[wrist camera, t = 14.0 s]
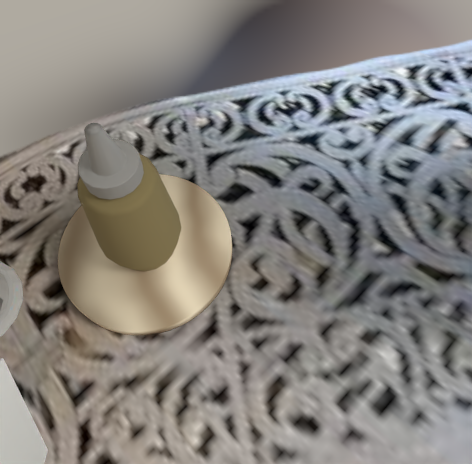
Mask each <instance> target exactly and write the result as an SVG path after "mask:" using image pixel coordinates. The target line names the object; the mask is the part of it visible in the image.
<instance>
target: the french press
mask: <svg viewBox="0 0 472 464" xmlns="http://www.w3.org/2000/svg"><path fill="white" fill-rule="evenodd" d="M22 301H23V289H22V282H21V280H20V278H19V277H18V275H17V273H16V272H15V270H14V269H13V268H11V267H9V266H7V265H6V264H4V263H2V262H0V337H1V336H2V335H4V333H5V332H6V331H7V330H8V328H9V327H10V326H11V325H12V323H13V322H14V321H15V319H16V318H17V316H18V313H19V310H20V307H21V304H22Z"/></svg>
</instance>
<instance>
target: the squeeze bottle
mask: <svg viewBox="0 0 472 464" xmlns="http://www.w3.org/2000/svg"><path fill="white" fill-rule="evenodd" d="M85 137H86V143H87V150H86V151H85V152H84V153H83V154H82V155H81V158H80V160H79V163H78V174H79V176H80V178H79V181H78V183H77V186H78V198H79V200H80V202H81V205H82V207H83V209H84V212H85V214H86V216H87V218H88V221H89V223H90V225H91V228H92V230H93V232H94V235H95V237H96V239H97V242H98V244H99V246H100V248H101V249H102V251H103V252H104V254H105V256H106V257H107V258H108V259H110V260H111V261H113V262H115V263H116V264H118V265H119V266H122V267H126V268H129V269H133V270H138V271H150V270H154V269H157V268H159V267H160V266H162V265H163V264H165V263H166V262H167V261H168V260H169V258H170V257H171V256H172V254H173V252H174V250H175V248H176V245H177V243H178V240H179V236H180V232H181V223H180V218H179V214H178V212H177V210H176V208H175V206H174V204H173V202H172V200H171V198H170V196H169V194H168V192H167V190H166V187H165V185H164V183H163V181H162V179H161V177H160V175H159V173H158V171H157V169H156V168H155V166H154V165H153V164H152V163H151V161H150V160H149V159H148V158H147V157H145V156H143V155H141V154H139V153H138V151H137V150H136V149H135V147H134V146H133V145H132V144H130V143H128V142H126V141H124V140H118V139H112V138H111V137H110V136H109V135H108V133H107V132H106V131H105V130H104V129H103V127H102V126H101V125H100V124H98V123H91V124H89V125H87V126H86V128H85Z"/></svg>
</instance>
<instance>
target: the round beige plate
mask: <svg viewBox="0 0 472 464" xmlns="http://www.w3.org/2000/svg"><path fill="white" fill-rule="evenodd" d="M159 175H160V177H161V179H162V181H163V183H164V185H165V187H166V190H167V192H168V194H169V196H170V198H171V200H172V202H173V204H174V206H175V208H176V210H177V212H178V214H179V218H180V223H181V232H180V236H179V240H178V243H177V245H176V248H175V250H174V252H173V254H172V256H171V257H170V258H169V260H168V261H167V262H166V263H165V264H163V265H162V266H160V267H159V268H157V269H154V270H150V271H138V270H133V269H129V268H126V267H122V266H119V265H118V264H116V263H115V262H113V261H111V260H110V259H108V258H107V257H106V256H105V254H104V252H103V251H102V249H101V248H100V246H99V244H98V242H97V239H96V237H95V235H94V232H93V230H92V228H91V225H90V223H89V221H88V218H87V216H86V214H85V212H84V209H83V207H82V205H81V206H80V208H79V209H78V210H77V211H76V212H75V214H74V215H73V217H72V218H71V220H70V221H69V223H68V225H67V227H66V229H65V231H64V233H63V236H62V239H61V242H60V247H59V251H58V270H59V276H60V280H61V283H62V286H63V288H64V290H65V292H66V294H67V296H68V297H69V299H70V301H71V302H72V303H73V304H74V305H75V307H76V308H77V309H78V310H79V311H80V312H82V313H83V314H84V315H85V316H86V317H87V318H89V319H90V320H91V321H92V322H94V323H96V324H97V325H99V326H101V327H103V328H105V329H108V330H110V331H113V332H117V333H120V334H127V335H152V334H158V333H162V332H166V331H170V330H172V329H174V328H177V327H179V326H182V325H183V324H185V323H187V322H189V321H191V320H192V319H194V318H195V317H196V316H198V315H199V314H200V313H202V312H203V311H204V310H205V309H206V308H207V307H208V306H209V305H210V304H211V303H212V301H213V300H214V299H215V298H216V297H217V295H218V294H219V292H220V290H221V289H222V287H223V285H224V283H225V281H226V279H227V276H228V273H229V270H230V266H231V260H232V238H231V231H230V227H229V224H228V220H227V218H226V216H225V214H224V212H223V210H222V209H221V207H220V206H219V204H218V203H217V202H216V201H215V199H214V198H213V197H212V196H211V195H210V194H208V193H207V192H206V191H205V190H204V189H202V188H200V187H199V186H197V185H196V184H194V183H192V182H189V181H187V180H184V179H181V178H179V177H174V176H169V175H161V174H159Z"/></svg>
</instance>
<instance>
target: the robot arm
mask: <svg viewBox="0 0 472 464" xmlns="http://www.w3.org/2000/svg"><path fill="white" fill-rule="evenodd" d="M47 452H48V449H47V447H46V445H45V443H44V441H43V439H42V437H41V435H40V433H39V431H38V429H37V427H36V424H35V422H34V420H33V418H32V416H31V414H30V412H29V410H28V408H27V406H26V404H25V402H24V400H23V398H22V396H21V394H20V392H19V390H18V388H17V386H16V383H15V381H14V379H13V377H12V375H11V373H10V371H9V369H8V367H7V365H6V363H5V361H4V359H3V358H0V464H44V463H45V459H46V456H47Z"/></svg>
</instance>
